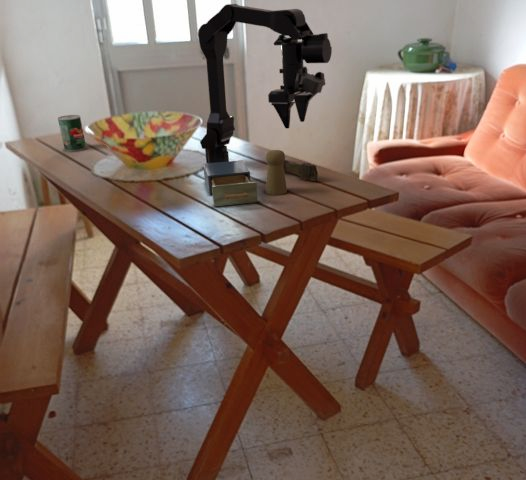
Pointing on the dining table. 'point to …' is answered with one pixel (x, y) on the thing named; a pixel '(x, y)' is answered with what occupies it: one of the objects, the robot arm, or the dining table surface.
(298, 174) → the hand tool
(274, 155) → the pawn game piece
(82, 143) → the canned tomato
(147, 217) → the dining table surface
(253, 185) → the drawer
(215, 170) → the cabinet
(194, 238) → the dining table surface
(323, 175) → the dining table surface
